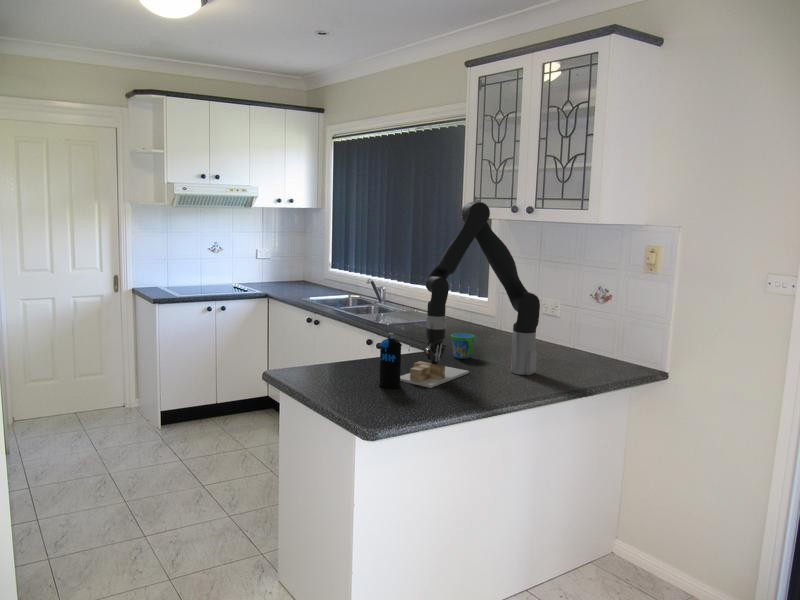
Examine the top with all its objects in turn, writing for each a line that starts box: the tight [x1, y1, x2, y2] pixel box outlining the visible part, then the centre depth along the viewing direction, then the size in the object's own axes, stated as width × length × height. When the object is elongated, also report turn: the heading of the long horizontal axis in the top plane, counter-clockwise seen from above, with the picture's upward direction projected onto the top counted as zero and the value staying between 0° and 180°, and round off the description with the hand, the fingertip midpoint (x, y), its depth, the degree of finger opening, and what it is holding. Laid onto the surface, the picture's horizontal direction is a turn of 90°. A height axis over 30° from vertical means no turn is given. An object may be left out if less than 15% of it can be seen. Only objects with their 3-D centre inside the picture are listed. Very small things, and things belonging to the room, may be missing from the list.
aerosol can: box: [378, 332, 403, 390], centre depth 244 cm, size 8×8×20 cm
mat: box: [400, 365, 470, 389], centre depth 261 cm, size 16×28×1 cm, turn 144°
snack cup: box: [450, 332, 476, 360], centre depth 294 cm, size 16×10×10 cm
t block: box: [409, 360, 445, 382], centre depth 254 cm, size 12×12×4 cm
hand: (434, 369), depth 261 cm, fingers closed
